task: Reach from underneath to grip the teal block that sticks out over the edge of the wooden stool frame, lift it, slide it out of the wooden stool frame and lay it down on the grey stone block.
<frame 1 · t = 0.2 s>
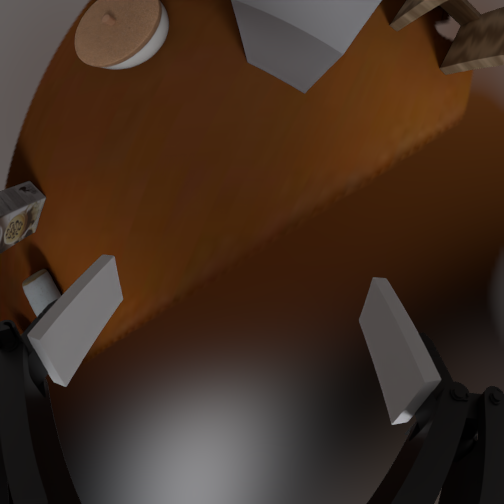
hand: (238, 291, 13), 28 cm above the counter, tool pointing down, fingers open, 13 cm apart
coffee box: (32, 206, 41), on the counter
lidded bowl: (141, 40, 30), on the counter
ceramic mug: (49, 285, 48), on the counter
stone block: (295, 49, 30), on the counter
wooden stool frame: (433, 24, 25), on the counter
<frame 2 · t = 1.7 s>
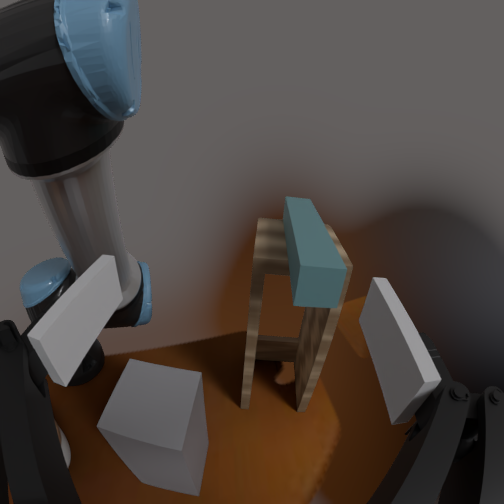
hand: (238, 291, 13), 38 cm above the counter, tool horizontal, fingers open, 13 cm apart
stone block: (176, 463, 33), on the counter
teal block: (302, 251, 35), point 31 cm above the counter, touching wooden stool frame
wooden stool frame: (273, 381, 52), on the counter
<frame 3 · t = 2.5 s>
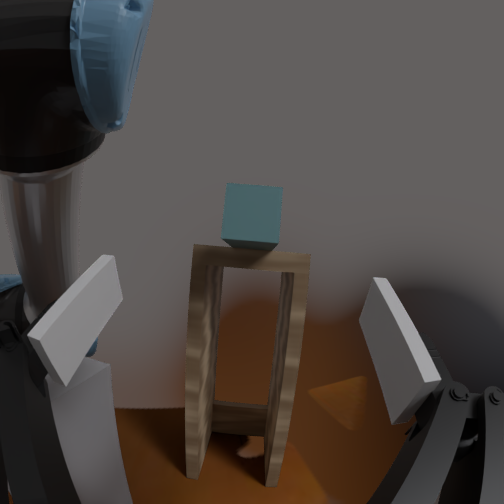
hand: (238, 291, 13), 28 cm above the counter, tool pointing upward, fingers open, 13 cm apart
teal block: (252, 250, 31), point 31 cm above the counter, touching wooden stool frame
wooden stool frame: (235, 454, 34), on the counter
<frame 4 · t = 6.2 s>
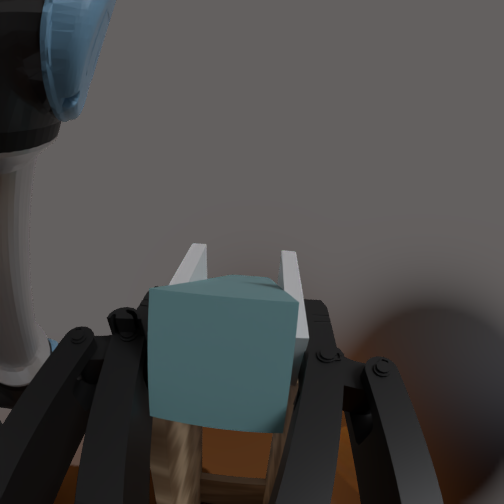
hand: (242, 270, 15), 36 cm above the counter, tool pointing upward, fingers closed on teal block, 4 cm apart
teal block: (240, 336, 19), point 31 cm above the counter, touching gripper, wooden stool frame
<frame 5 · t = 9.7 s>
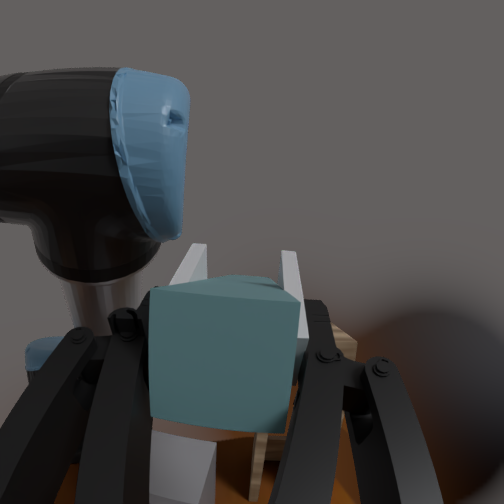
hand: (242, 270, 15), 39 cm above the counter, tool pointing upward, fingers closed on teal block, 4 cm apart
teal block: (240, 336, 19), point 35 cm above the counter, touching gripper
wooden stool frame: (282, 477, 39), on the counter
when the fingers open (25 cm above the counter, at t = 13.3 s): teal block stays where it is, resting on stone block.
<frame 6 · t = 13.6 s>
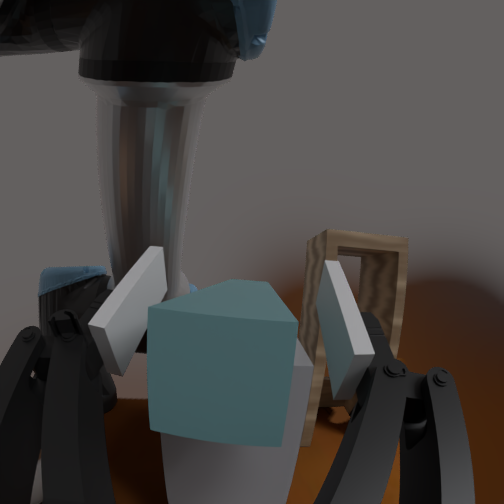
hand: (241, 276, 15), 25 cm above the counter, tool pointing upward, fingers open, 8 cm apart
lidded bowl: (20, 486, 11), on the counter
teal block: (239, 343, 19), point 20 cm above the counter, touching stone block
wooden stool frame: (328, 421, 40), on the counter
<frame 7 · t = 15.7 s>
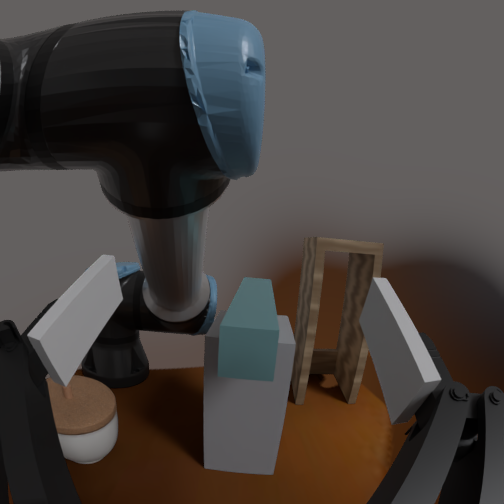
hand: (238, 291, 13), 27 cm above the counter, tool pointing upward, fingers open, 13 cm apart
lidded bowl: (84, 448, 25), on the counter
stone block: (241, 448, 33), on the counter
teal block: (252, 328, 30), point 20 cm above the counter, touching stone block
wooden stool frame: (319, 386, 53), on the counter
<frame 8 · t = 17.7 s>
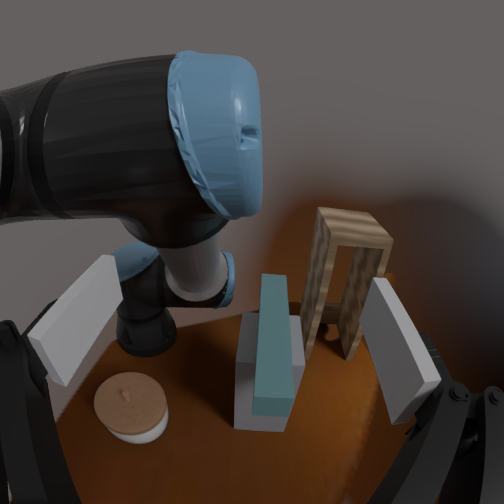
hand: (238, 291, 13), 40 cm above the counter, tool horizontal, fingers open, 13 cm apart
lidded bowl: (141, 425, 41), on the counter
stone block: (260, 408, 47), on the counter
teal block: (271, 343, 37), point 20 cm above the counter, touching stone block
wooden stool frame: (323, 338, 66), on the counter
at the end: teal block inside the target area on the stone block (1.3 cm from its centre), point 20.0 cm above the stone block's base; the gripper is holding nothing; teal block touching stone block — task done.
